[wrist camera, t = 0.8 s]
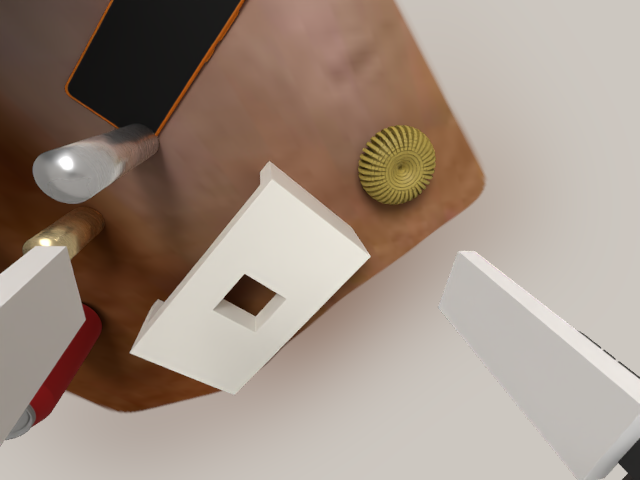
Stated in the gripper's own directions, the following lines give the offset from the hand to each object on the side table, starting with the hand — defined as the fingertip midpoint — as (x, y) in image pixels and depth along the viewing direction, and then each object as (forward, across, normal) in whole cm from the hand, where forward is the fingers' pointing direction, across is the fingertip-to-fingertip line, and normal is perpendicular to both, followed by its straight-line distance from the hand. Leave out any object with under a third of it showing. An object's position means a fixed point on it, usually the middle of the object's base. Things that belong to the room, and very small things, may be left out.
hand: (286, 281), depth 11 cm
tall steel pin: (+23, -11, 0) cm, 26 cm away
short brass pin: (+23, -17, -8) cm, 30 cm away
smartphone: (+24, -9, +8) cm, 27 cm away
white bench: (+23, -1, -14) cm, 26 cm away
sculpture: (+23, +14, 0) cm, 27 cm away
